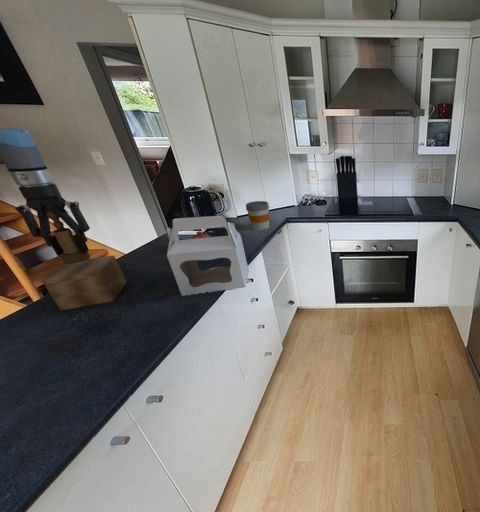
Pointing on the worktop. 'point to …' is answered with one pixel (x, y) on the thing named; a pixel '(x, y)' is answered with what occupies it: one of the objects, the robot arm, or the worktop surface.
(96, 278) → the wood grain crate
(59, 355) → the worktop surface
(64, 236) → the mortar and pestle
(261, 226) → the reusable coffee cup
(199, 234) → the butter dish
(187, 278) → the gable box
